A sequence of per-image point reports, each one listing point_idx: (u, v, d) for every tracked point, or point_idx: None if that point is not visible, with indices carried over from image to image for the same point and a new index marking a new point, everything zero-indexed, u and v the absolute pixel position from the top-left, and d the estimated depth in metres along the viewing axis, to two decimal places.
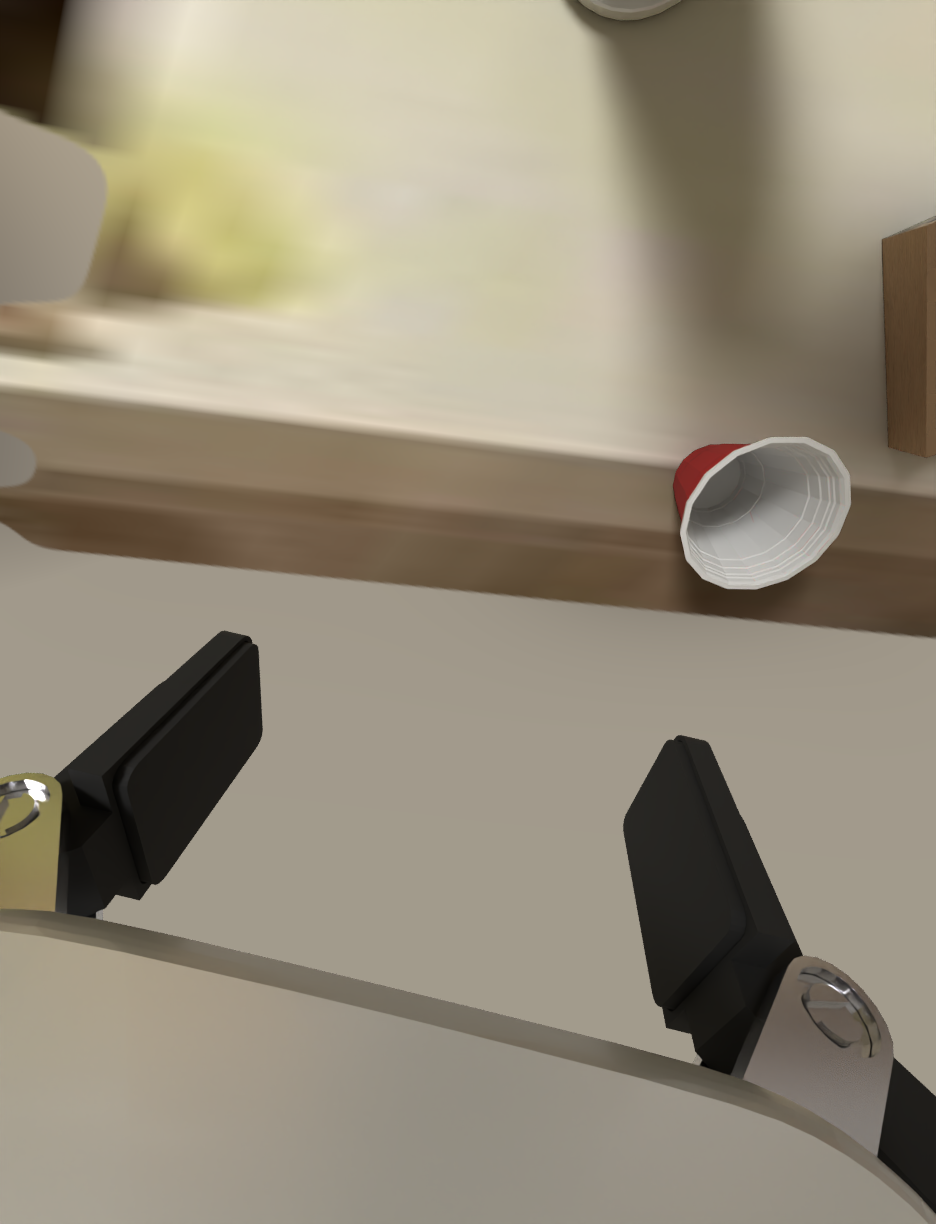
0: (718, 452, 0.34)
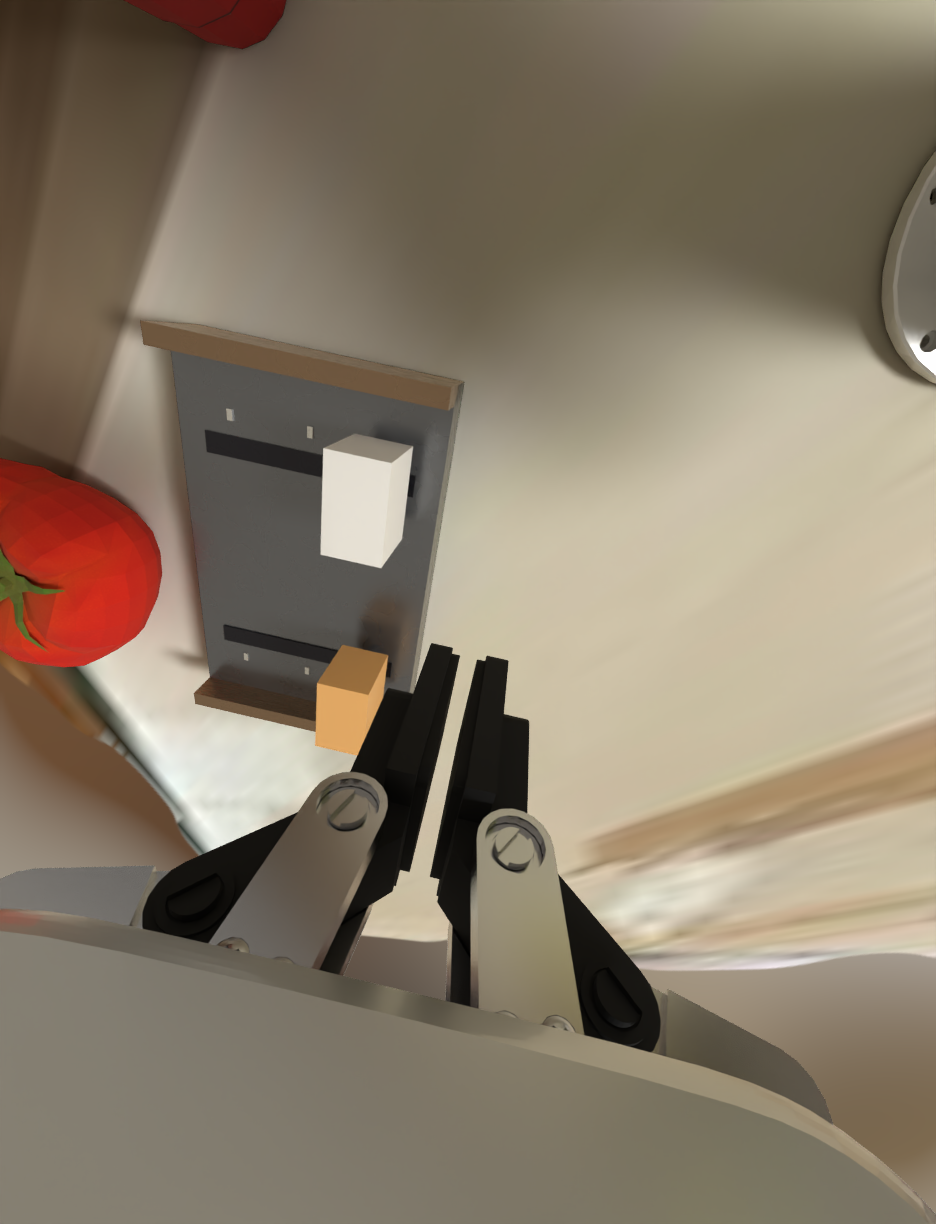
0: None
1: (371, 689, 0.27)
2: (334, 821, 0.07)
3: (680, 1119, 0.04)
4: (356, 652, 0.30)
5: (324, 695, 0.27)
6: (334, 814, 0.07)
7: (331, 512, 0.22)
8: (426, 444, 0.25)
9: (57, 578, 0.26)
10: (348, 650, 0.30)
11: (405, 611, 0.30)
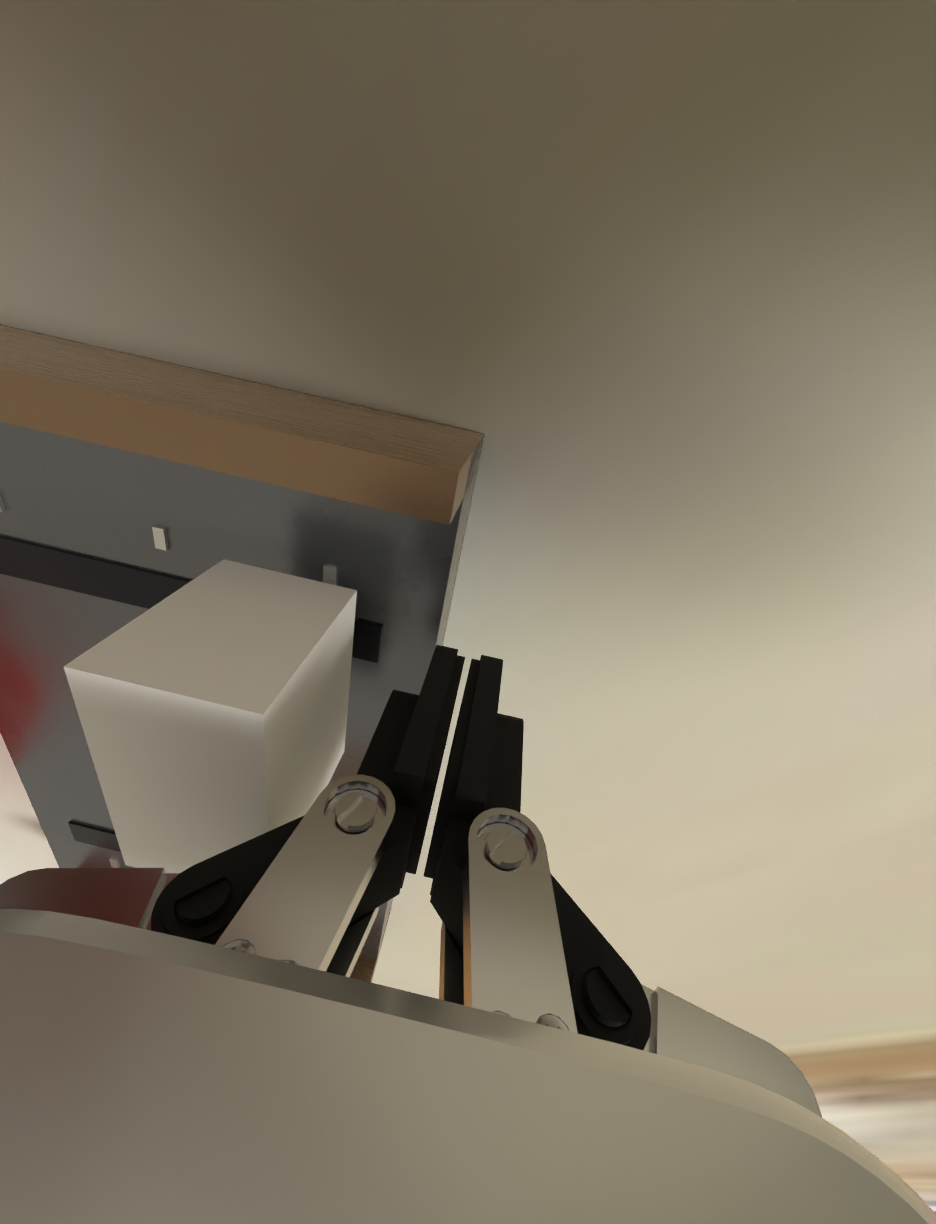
0: None
1: None
2: (341, 824, 0.07)
3: (680, 1119, 0.04)
4: None
5: None
6: (342, 816, 0.07)
7: (127, 797, 0.08)
8: (402, 569, 0.12)
9: None
10: None
11: None
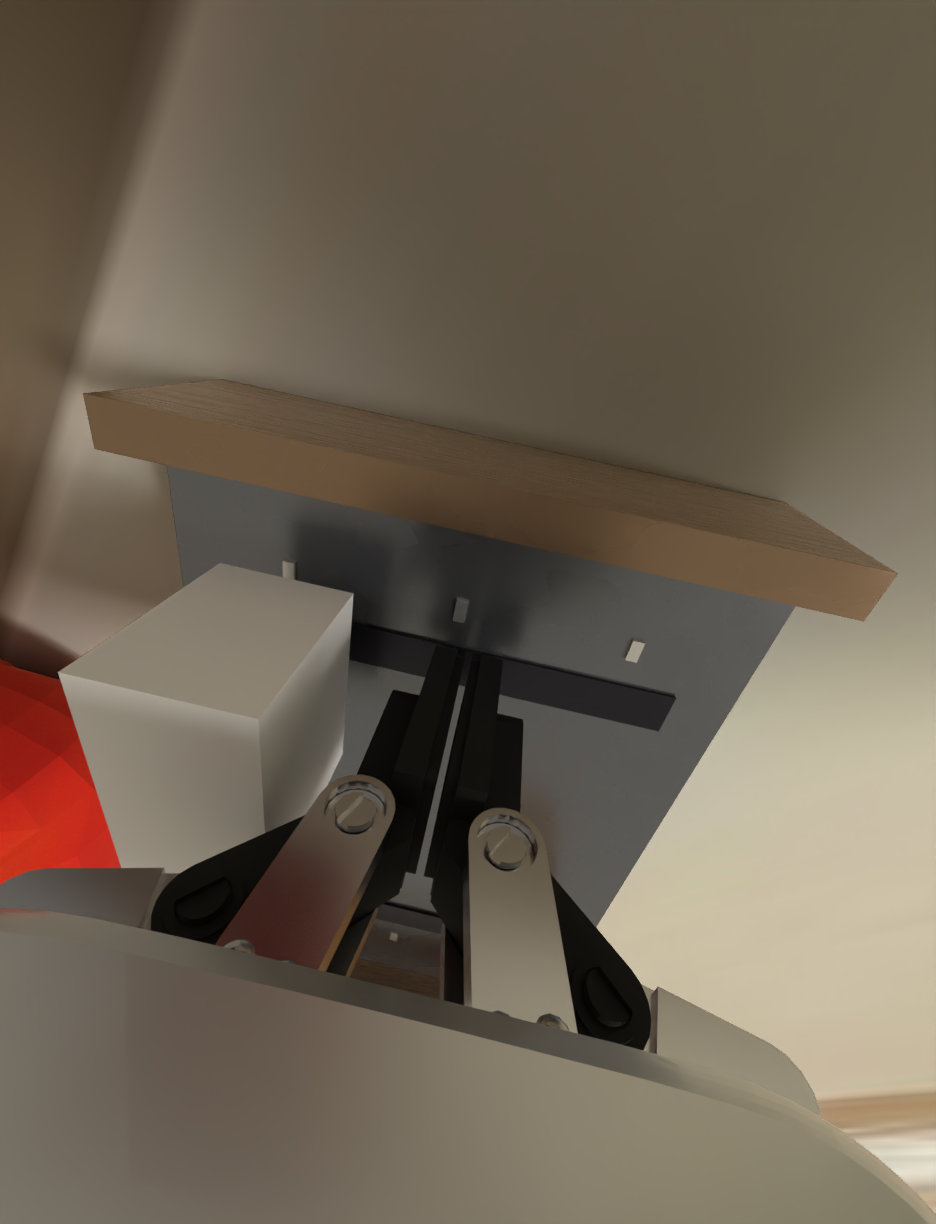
0: None
1: None
2: (341, 824, 0.07)
3: (680, 1119, 0.04)
4: None
5: None
6: (341, 816, 0.07)
7: (124, 803, 0.08)
8: (718, 644, 0.12)
9: None
10: None
11: (588, 883, 0.17)
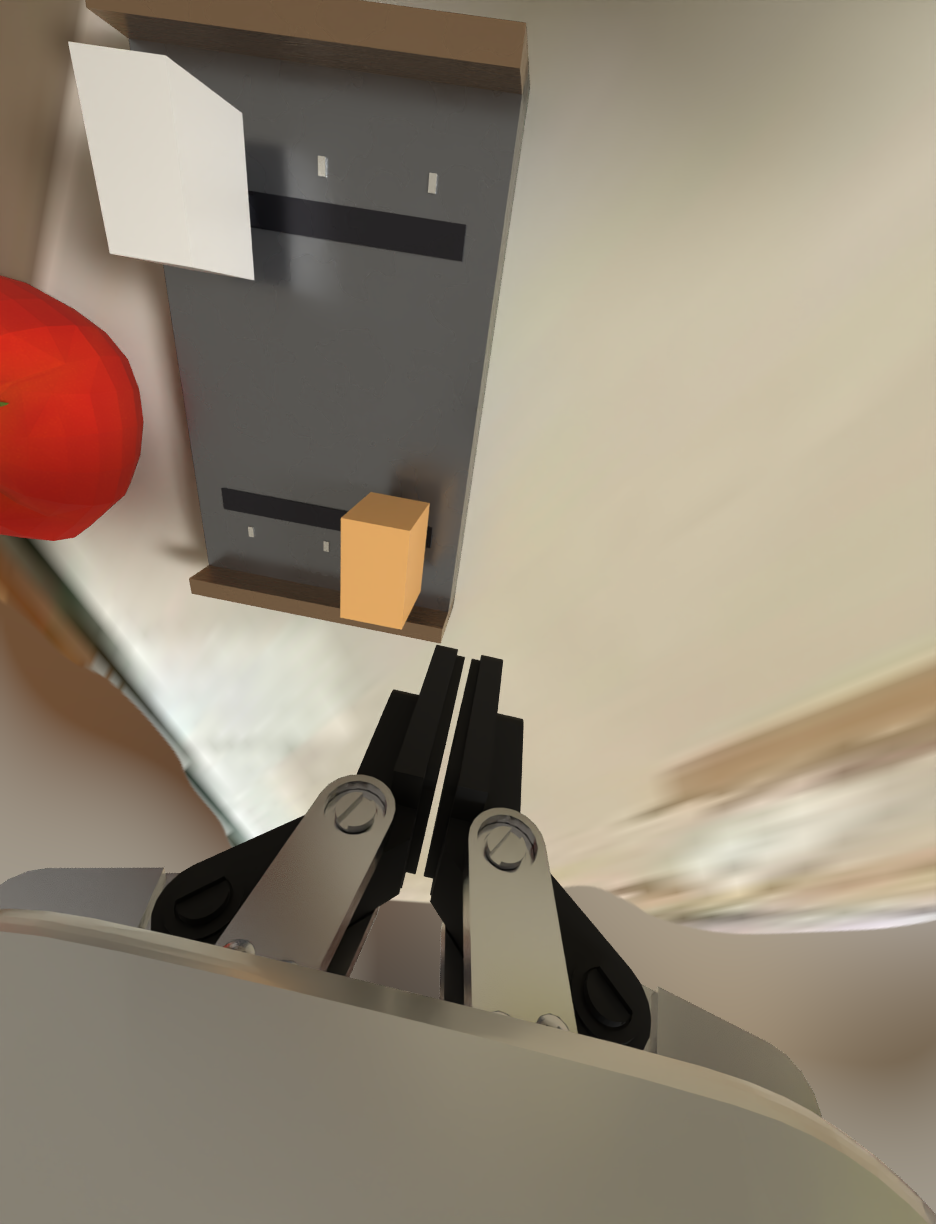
0: None
1: (412, 528, 0.20)
2: (341, 824, 0.07)
3: (680, 1119, 0.04)
4: (388, 498, 0.23)
5: (351, 537, 0.20)
6: (341, 817, 0.07)
7: (106, 170, 0.15)
8: (481, 167, 0.18)
9: None
10: (378, 496, 0.23)
11: (449, 448, 0.23)
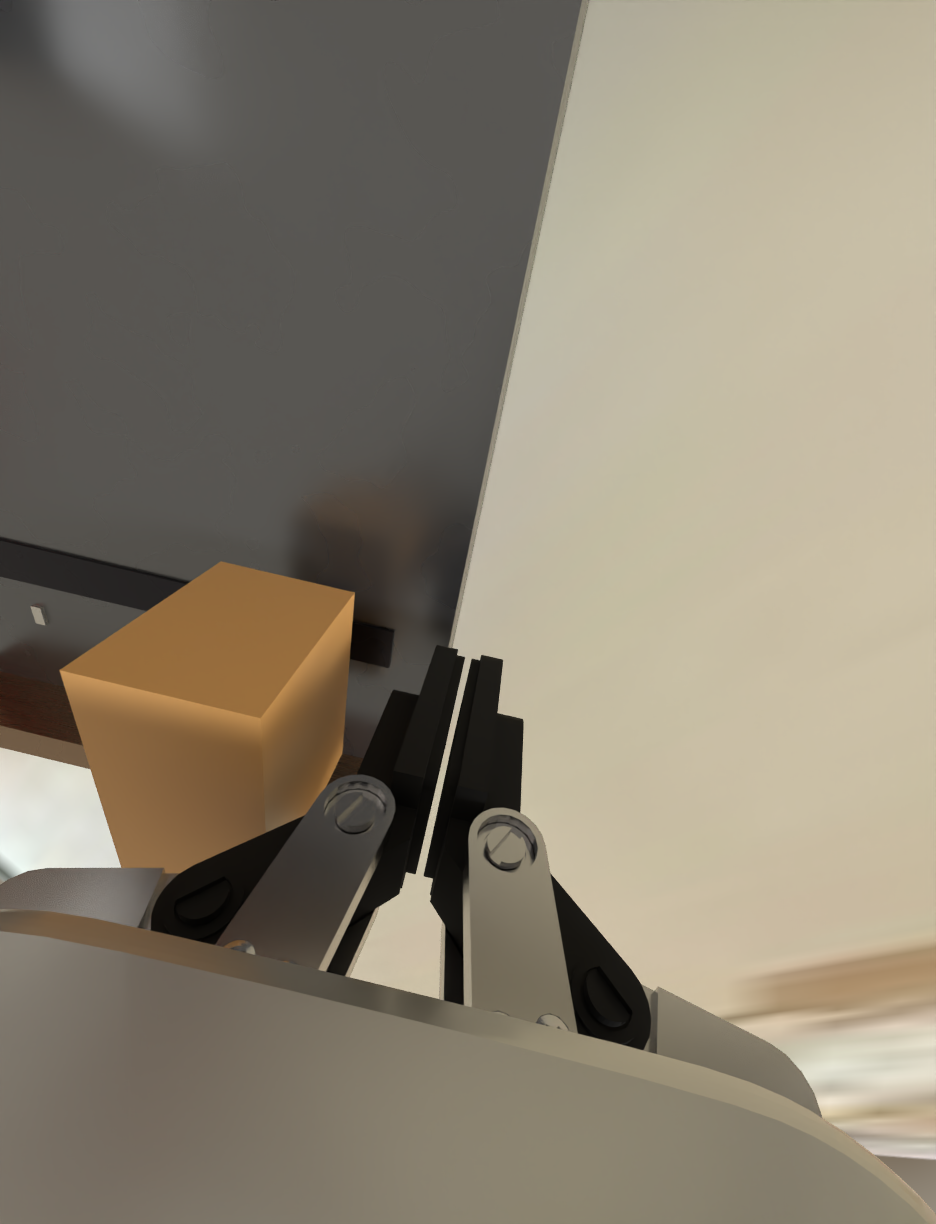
0: None
1: (279, 695, 0.07)
2: (341, 824, 0.07)
3: (680, 1119, 0.04)
4: (256, 581, 0.10)
5: (101, 717, 0.07)
6: (342, 817, 0.07)
7: None
8: None
9: None
10: (232, 576, 0.10)
11: (433, 475, 0.10)
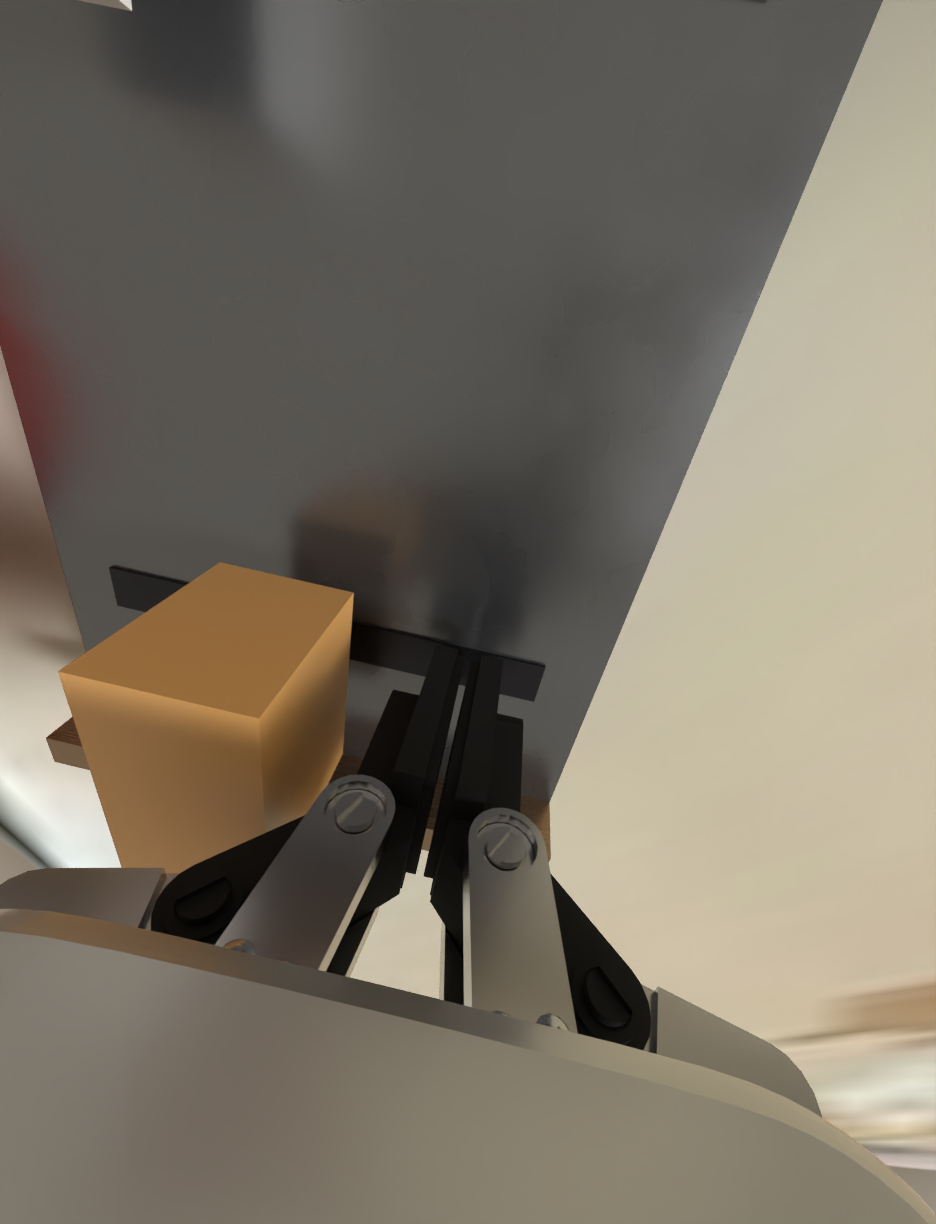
0: None
1: (278, 695, 0.07)
2: (341, 823, 0.07)
3: (680, 1119, 0.04)
4: (256, 582, 0.10)
5: (99, 718, 0.07)
6: (342, 816, 0.07)
7: None
8: None
9: None
10: (230, 577, 0.10)
11: (615, 515, 0.10)
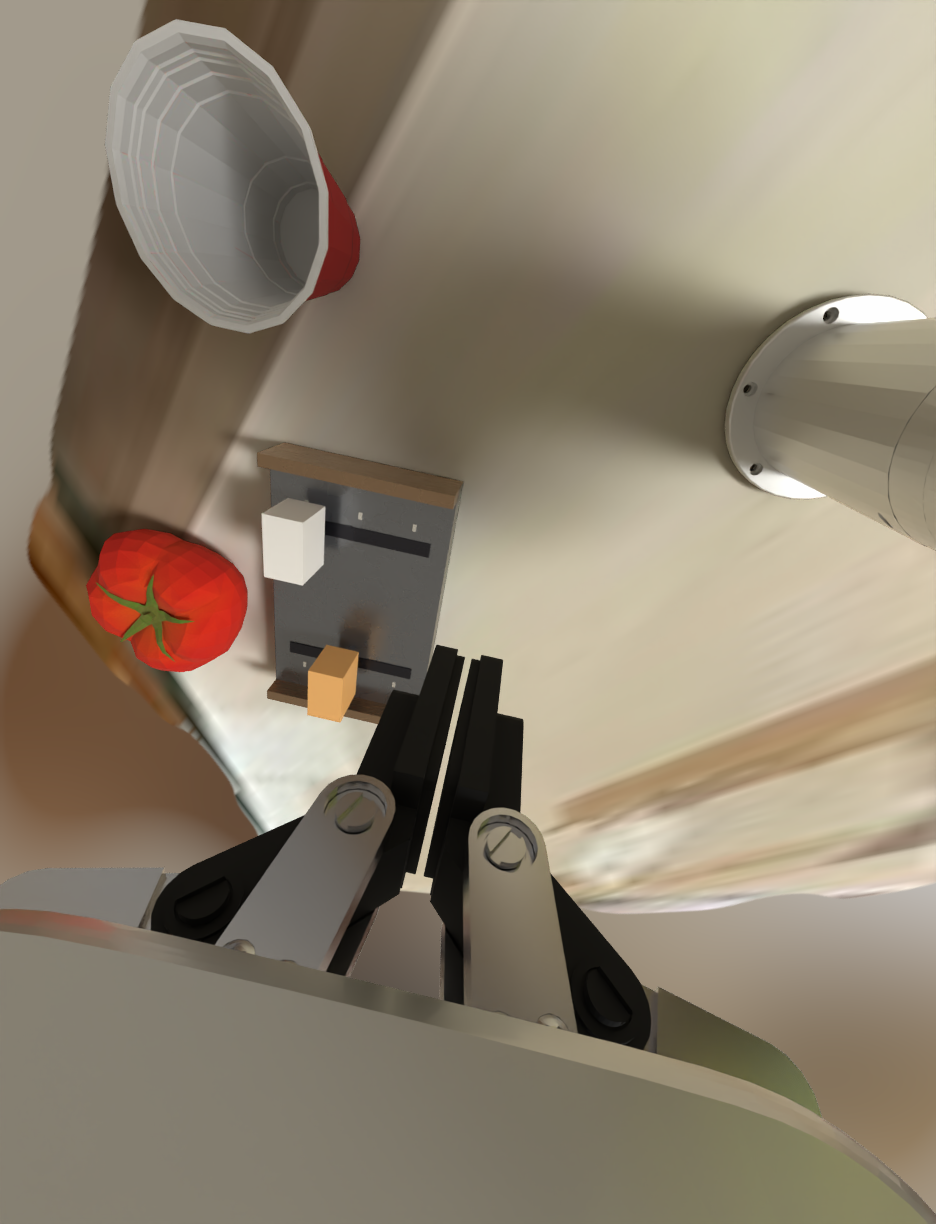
0: (339, 217, 0.25)
1: (345, 675, 0.40)
2: (341, 823, 0.07)
3: (680, 1119, 0.04)
4: (336, 650, 0.42)
5: (313, 679, 0.40)
6: (341, 816, 0.07)
7: (269, 551, 0.34)
8: (438, 524, 0.38)
9: (188, 612, 0.39)
10: (330, 649, 0.42)
11: (421, 633, 0.43)
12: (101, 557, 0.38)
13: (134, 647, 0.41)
